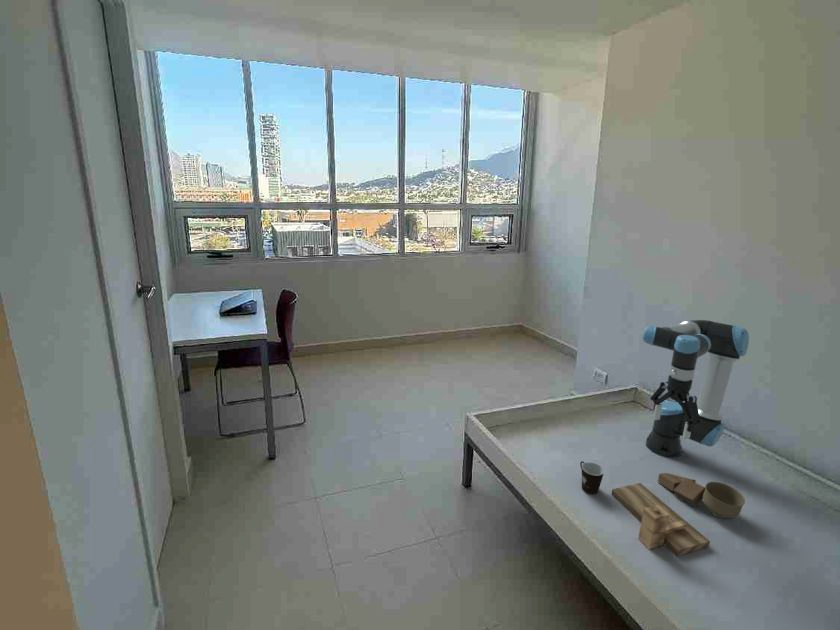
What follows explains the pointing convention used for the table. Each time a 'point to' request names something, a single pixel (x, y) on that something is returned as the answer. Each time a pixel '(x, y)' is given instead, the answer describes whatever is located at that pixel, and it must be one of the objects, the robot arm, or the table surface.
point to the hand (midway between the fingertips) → (670, 428)
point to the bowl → (723, 499)
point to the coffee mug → (591, 477)
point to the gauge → (656, 526)
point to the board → (676, 541)
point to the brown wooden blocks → (683, 488)
